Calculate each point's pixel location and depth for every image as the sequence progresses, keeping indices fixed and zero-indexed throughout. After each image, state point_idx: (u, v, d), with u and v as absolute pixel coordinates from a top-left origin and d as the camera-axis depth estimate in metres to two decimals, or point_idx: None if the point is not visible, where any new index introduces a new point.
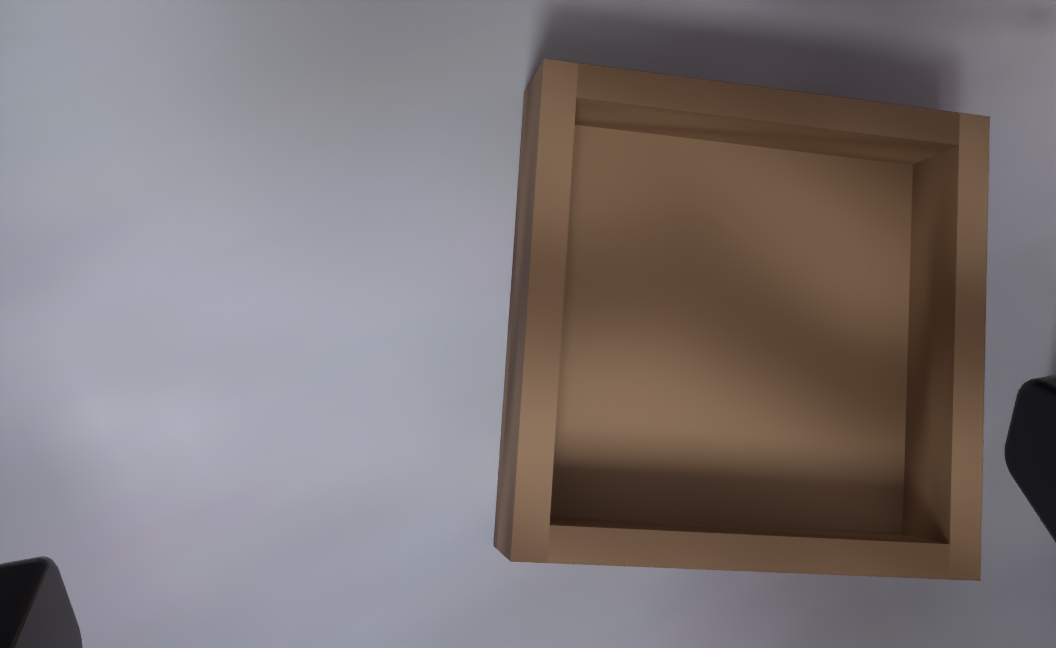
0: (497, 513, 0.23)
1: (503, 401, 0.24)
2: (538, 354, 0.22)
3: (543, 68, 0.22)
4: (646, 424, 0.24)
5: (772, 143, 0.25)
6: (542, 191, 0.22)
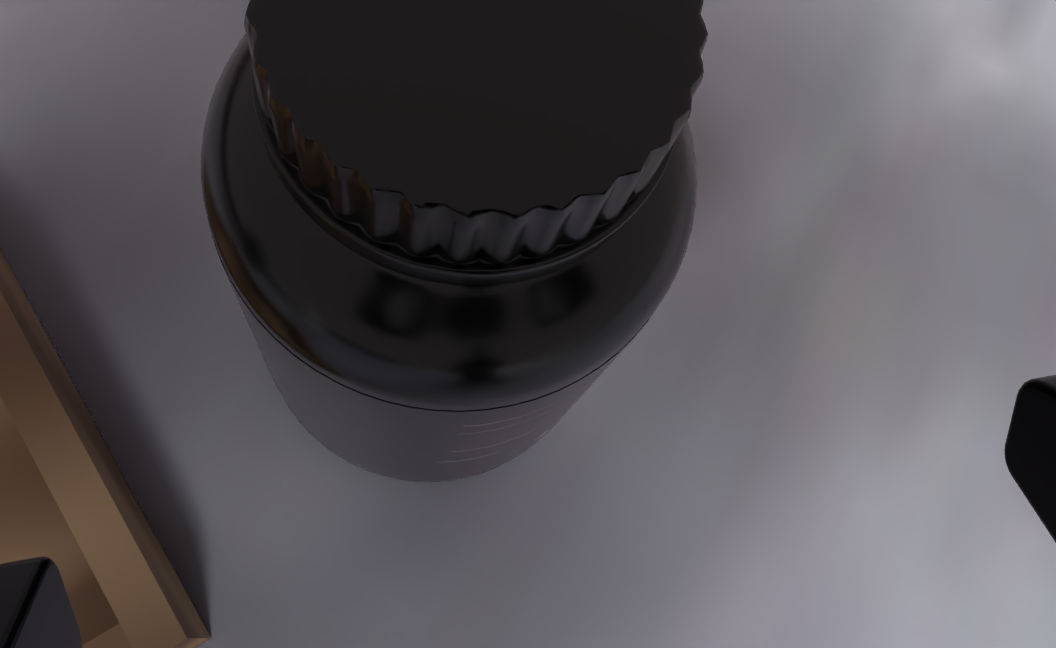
0: None
1: None
2: None
3: None
4: None
5: None
6: None
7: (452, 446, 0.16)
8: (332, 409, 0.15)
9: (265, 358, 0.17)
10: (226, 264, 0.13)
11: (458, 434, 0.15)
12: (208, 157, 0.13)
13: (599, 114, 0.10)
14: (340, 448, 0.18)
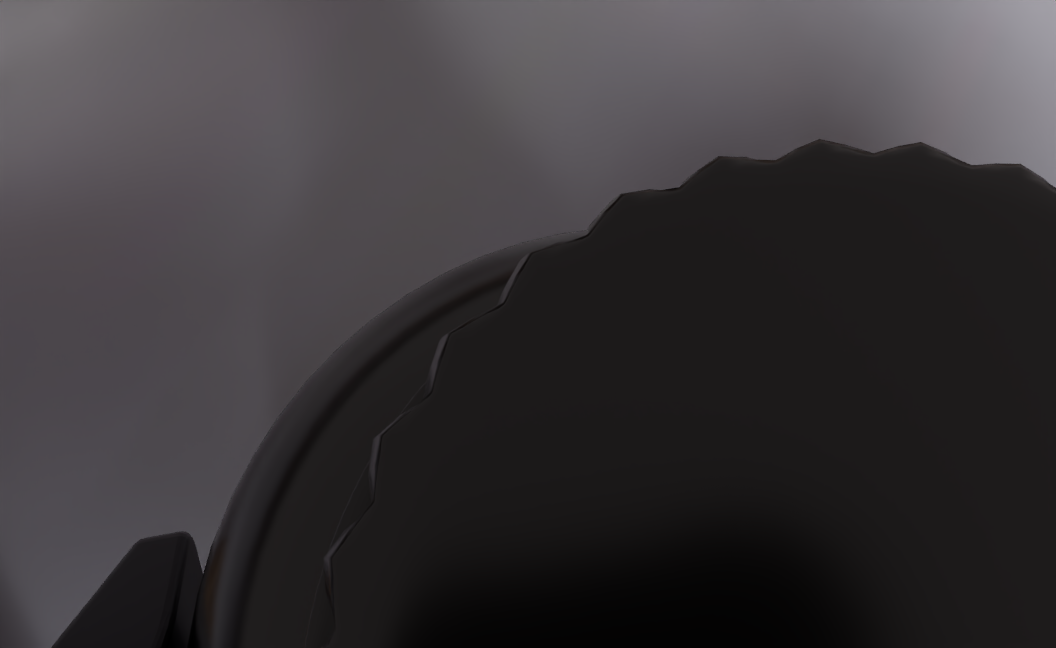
0: None
1: None
2: None
3: None
4: None
5: None
6: None
7: None
8: None
9: None
10: None
11: None
12: None
13: None
14: None
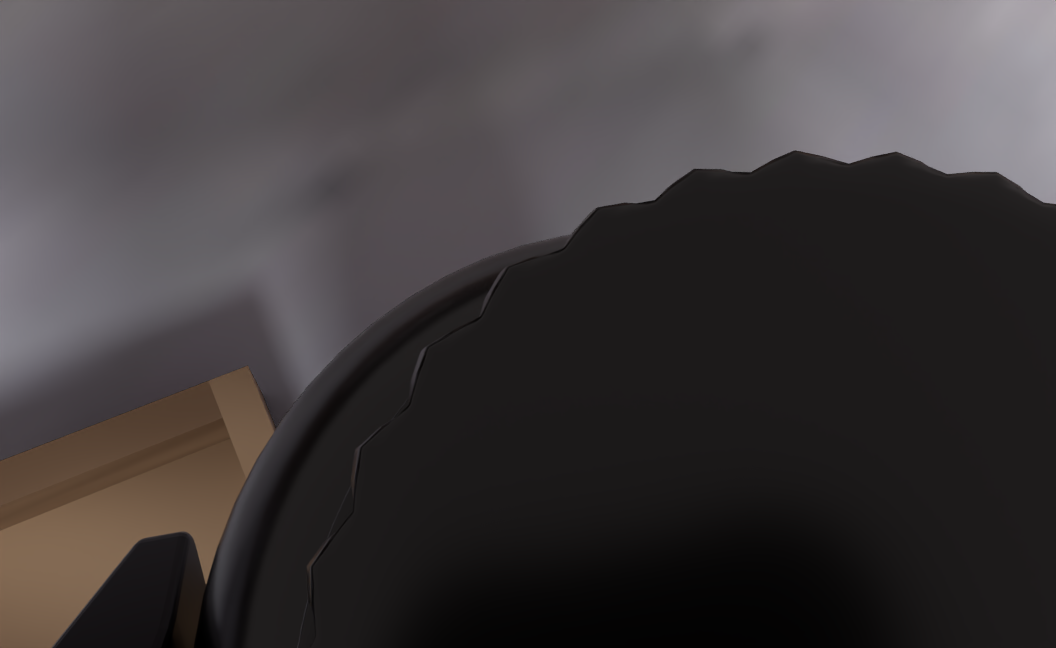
0: None
1: None
2: None
3: None
4: None
5: (36, 512, 0.20)
6: None
7: None
8: None
9: None
10: None
11: None
12: None
13: None
14: None
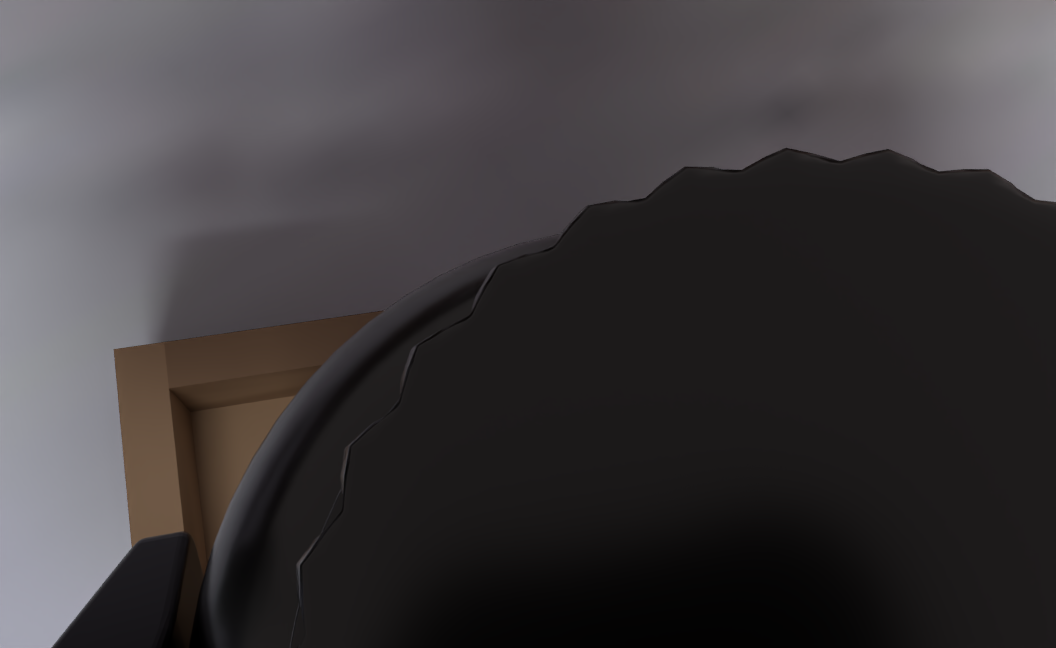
0: None
1: None
2: None
3: (116, 362, 0.16)
4: None
5: None
6: (141, 529, 0.16)
7: None
8: None
9: None
10: None
11: None
12: None
13: None
14: None
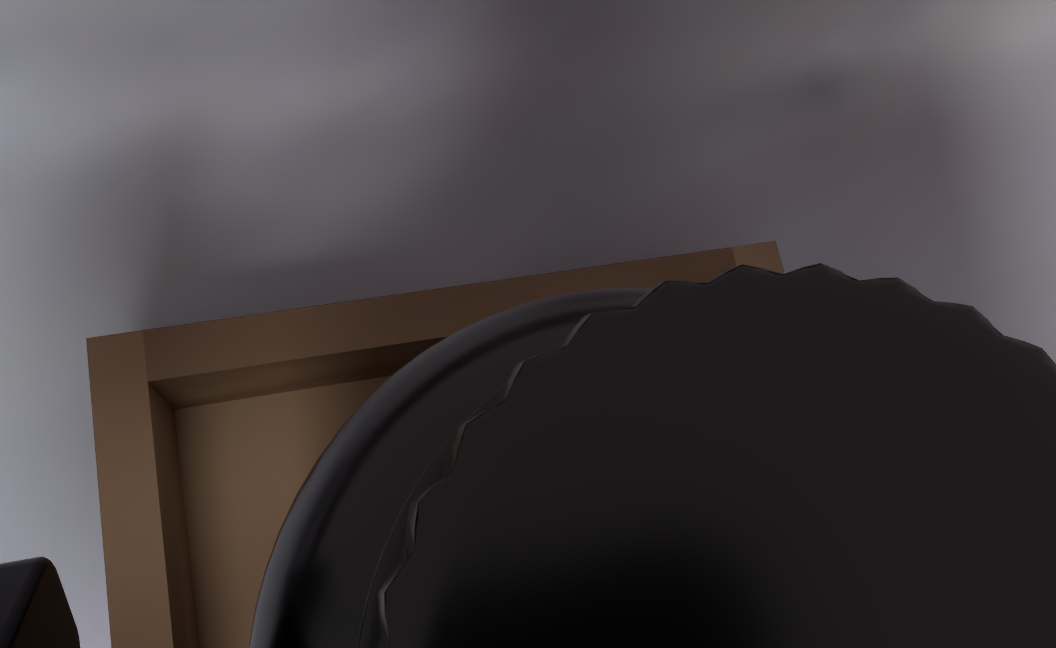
0: None
1: None
2: None
3: (89, 352, 0.15)
4: None
5: None
6: (116, 540, 0.14)
7: None
8: None
9: None
10: None
11: None
12: None
13: None
14: None
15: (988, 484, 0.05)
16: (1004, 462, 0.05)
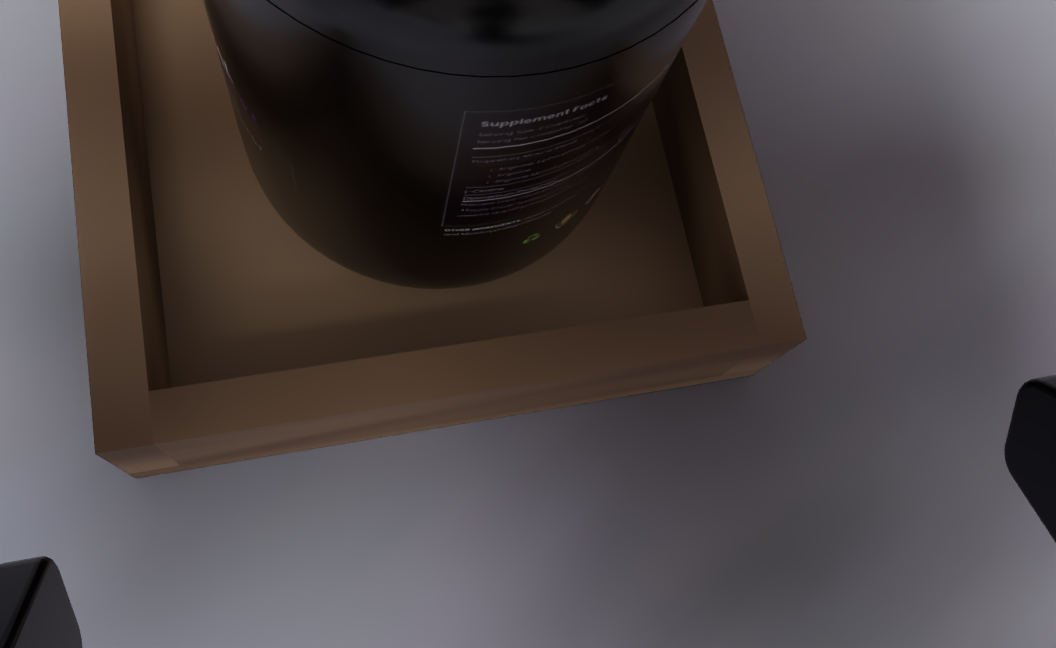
0: None
1: None
2: (94, 169, 0.15)
3: None
4: (317, 266, 0.18)
5: None
6: None
7: (465, 186, 0.13)
8: (320, 125, 0.12)
9: (239, 96, 0.14)
10: None
11: (475, 149, 0.12)
12: None
13: None
14: (330, 232, 0.16)
15: None
16: None
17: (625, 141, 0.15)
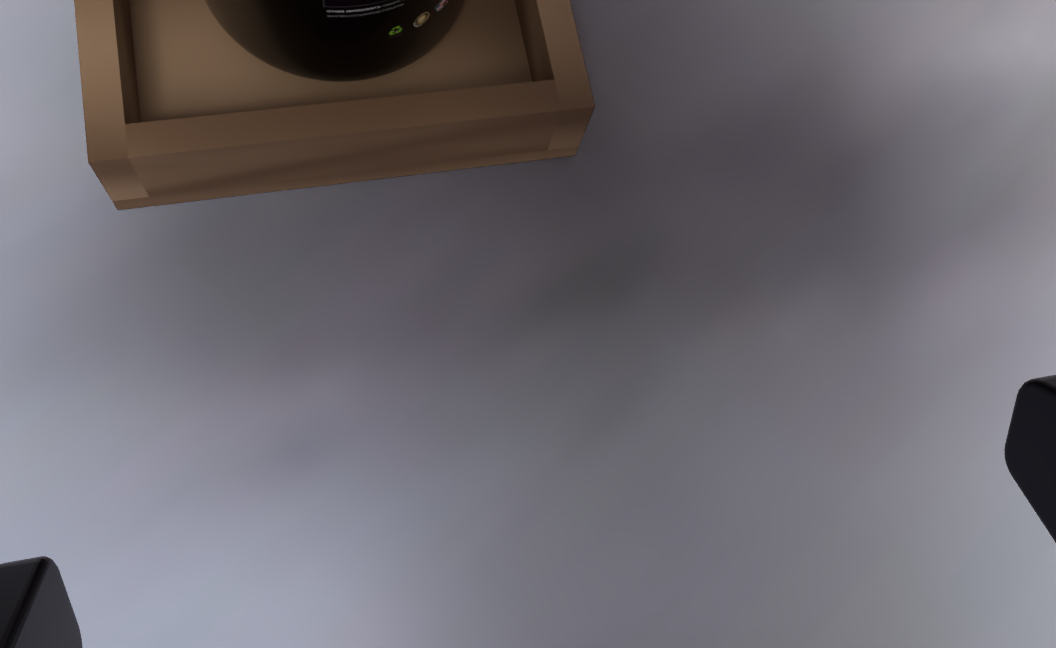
0: None
1: None
2: None
3: None
4: (251, 67, 0.24)
5: None
6: None
7: None
8: None
9: None
10: None
11: None
12: None
13: None
14: (253, 25, 0.22)
15: None
16: None
17: None
